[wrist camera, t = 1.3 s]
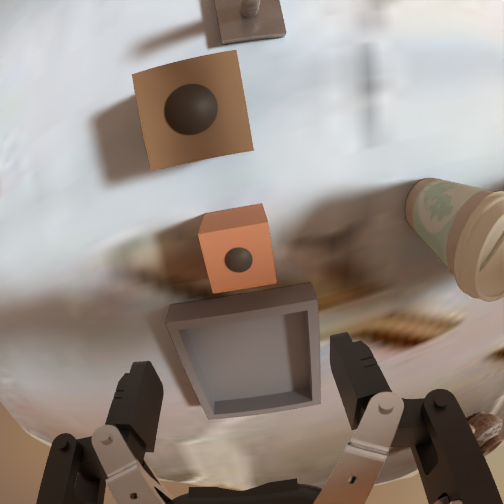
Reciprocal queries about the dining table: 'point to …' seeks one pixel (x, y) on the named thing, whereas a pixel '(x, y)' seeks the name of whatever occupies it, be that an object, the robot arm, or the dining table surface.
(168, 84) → the block
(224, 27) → the pin gauge stand
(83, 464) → the robot arm
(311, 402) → the tray
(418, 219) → the coffee cup
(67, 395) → the dining table surface
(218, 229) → the block
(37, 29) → the dining table surface
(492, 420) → the pottery
